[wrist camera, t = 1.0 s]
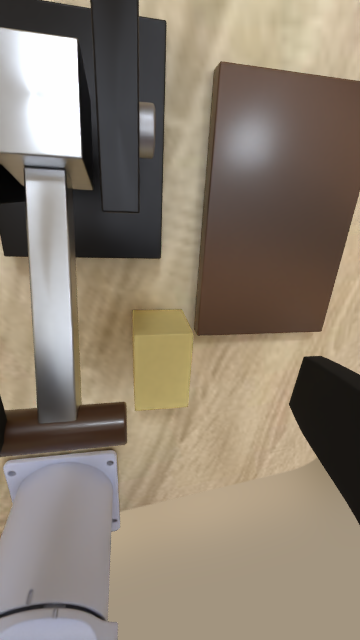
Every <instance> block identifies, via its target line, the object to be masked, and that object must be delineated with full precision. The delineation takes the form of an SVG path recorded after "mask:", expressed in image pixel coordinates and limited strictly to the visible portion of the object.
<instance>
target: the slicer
mask: <svg viewBox="0 0 360 640" xmlns="http://www.w3.org/2000/svg"><path fill="white" fill-rule="evenodd" d="M90 2H91V8H86V7H80V6H74V5H67V4H61V3H55V2H49V1H43V0H0V27H3V28H10V29H17V30H24V31H31V32H38V33H45V34H52V35H59V36H66V37H73V38H77V39H78V40H79V44H80V49H81V54H82V59H83V64H84V69H85V74H86V80H87V85H88V90H89V95H90V100H91V123H92V153H93V182H94V189H93V190H80V189H73V208H74V233H75V257H82V258H148V259H160V258H161V230H162V188H163V147H164V105H165V64H166V21H165V20H159V19H153V18H147V17H141V16H139V0H90ZM0 236H1V241H2V246H3V251H4V256H16V257H28V240H27V222H26V205H25V188H24V186H22V185H21V184H20V183H19V182H18V181H17V180H16V179H15V178H14V177H13V176H12V175H11V174H10V173H9V172H8V171H7V170H6V169H5V168H4V167H3V166H2V165H1V164H0Z"/></svg>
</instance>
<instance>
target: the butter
mask: <svg viewBox="0 0 360 640" xmlns="http://www.w3.org/2000/svg"><path fill="white" fill-rule="evenodd" d="M132 322H133V378H134V400H135V411H142V410H155V409H167V408H180V407H188V400H189V387H190V374H191V361H192V348H193V335H194V334H193V332H192V330H191V327H190V325H189V323H188V321H187V319H186V317H185V315H184V313H183V311H182V309H177V310H133V311H132Z"/></svg>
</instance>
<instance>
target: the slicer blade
mask: <svg viewBox="0 0 360 640" xmlns="http://www.w3.org/2000/svg"><path fill="white" fill-rule="evenodd" d="M0 164H1V165H2V166H3V167H4V168H5V169H6V170H7V171H8V172H9V173H10V174H11V175H12V176H13V177H14V178H15V179H16V180H17V181H18V182H19V183H20V184H21V185H22V186H24V188H25V205H26V222H27V240H28V257H29V274H30V291H31V309H32V326H33V343H34V360H35V378H36V395H37V408H31V409H17V410H5V414H6V417H7V423H6V427H5V433H4V443H3V446H2V450H1V453H0V457H6V456H16V455H26V454H36V453H46V452H57V451H67V450H77V449H87V448H97V447H108V446H118V445H125V444H126V443H127V408H126V402H115V403H101V404H87V405H82V402H81V378H80V353H79V329H78V305H77V281H76V257H75V233H74V208H73V189H80V190H93V189H94V182H93V153H92V123H91V100H90V95H89V90H88V85H87V80H86V74H85V69H84V64H83V59H82V54H81V49H80V44H79V40H78V39H77V38H73V37H66V36H59V35H52V34H45V33H38V32H31V31H24V30H17V29H10V28H3V27H0Z"/></svg>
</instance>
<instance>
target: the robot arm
mask: <svg viewBox="0 0 360 640" xmlns="http://www.w3.org/2000/svg"><path fill="white" fill-rule="evenodd" d="M289 406H290V408H291V410H292V412H293V415H294V417H295V419H296V421H297V423H298V425H299V427H300V429H301V431H302V433H303V435H304V436H305V438H306V440H307V441H308V443H309V445H310V446H311V448H312V449H313V451H314V452H315V454H316V456H317V457H318V459H319V460H320V462H321V463H322V465H323V466H324V468H325V470H326V471H327V473H328V474H329V476H330V477H331V479H332V480H333V482H334V483H335V485H336V486H337V488H338V490H339V491H340V493H341V494H342V496H343V497H344V499H345V500H346V502H347V504H348V505H349V507H350V509H351V510H352V512H353V514H354V515H355V517H356V519H357V521H358V523H359V525H360V375H359V374H357V373H355V372H353V371H352V370H350V369H348V368H346V367H344V366H342V365H340V364H338V363H336V362H333V361H331V360H329V359H327V358H324V357H322V356H310V357H304V358H303V361H302V364H301V368H300V371H299V374H298V377H297V380H296V383H295V387H294V390H293V393H292V396H291V399H290V403H289ZM6 423H7V417H6V414H5V410H4V407H3V403H2V400H1V396H0V453H1V450H2V446H3V443H4V433H5V427H6ZM3 470H4V473H5V477H6V481H7V484H8V488H9V492H10V495H11V499H12V503H13V505H12V508H11V510H10V513H9V516H8V519H7V521H6V524H5V527H4V530H3V533H2V535H1V538H0V640H118V636H117V635H118V623H117V622H109V621H108V599H109V598H108V597H109V575H110V574H109V573H110V549H111V532H112V531H117V530H118V529H119V528H120V511H119V492H118V472H117V454H116V452H115V451H113V450H105V451H95V452H85V453H75V454H65V455H55V456H45V457H35V458H25V459H15V460H9V461H7V462H6V463H5V465H4V467H3ZM12 471H14V472H12Z"/></svg>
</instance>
